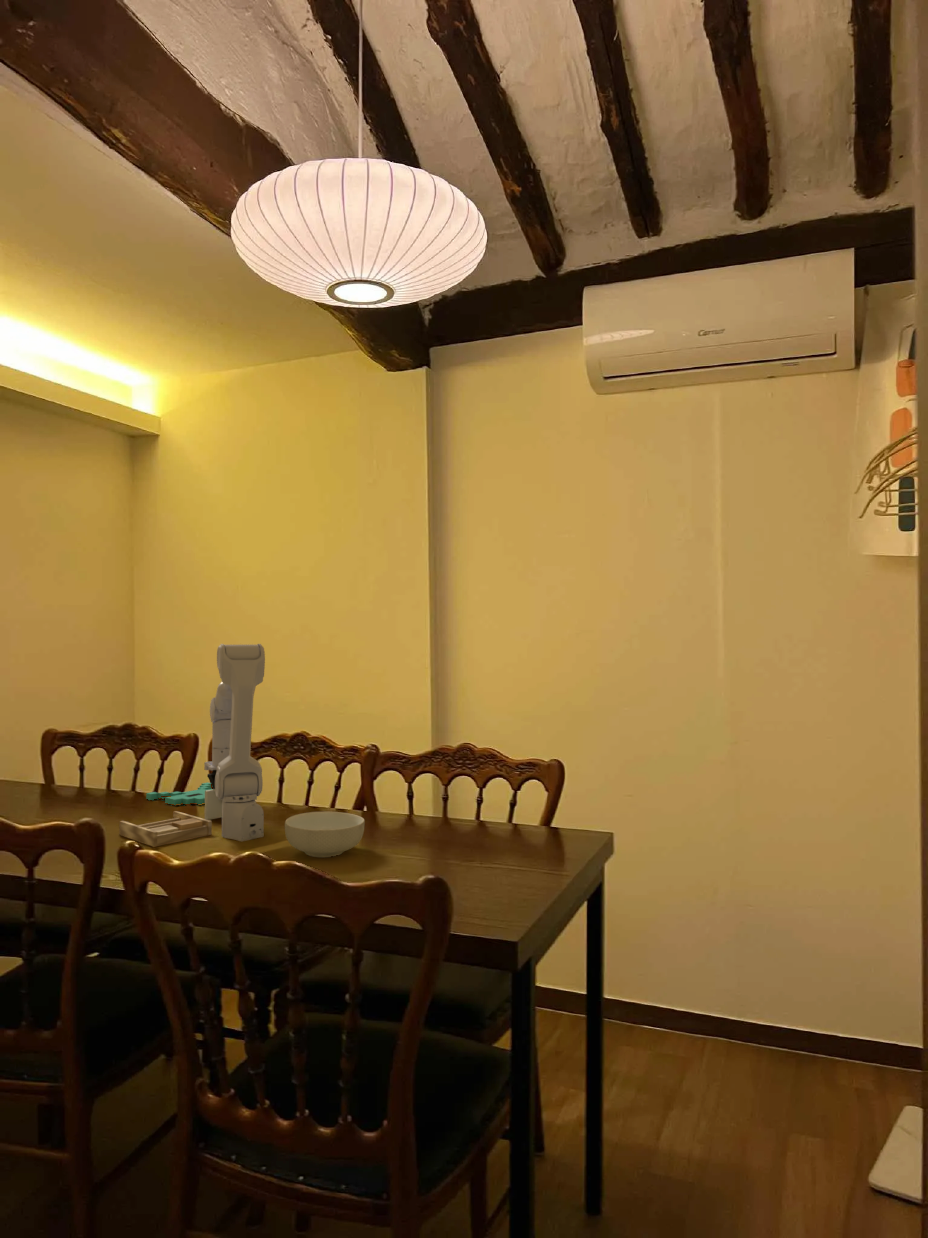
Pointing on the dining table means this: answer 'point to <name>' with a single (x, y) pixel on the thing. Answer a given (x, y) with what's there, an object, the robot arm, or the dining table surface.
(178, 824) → the oak offcut
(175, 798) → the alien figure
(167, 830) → the ash offcut
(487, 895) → the dining table surface
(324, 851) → the cereal bowl
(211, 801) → the sheet
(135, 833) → the rack
